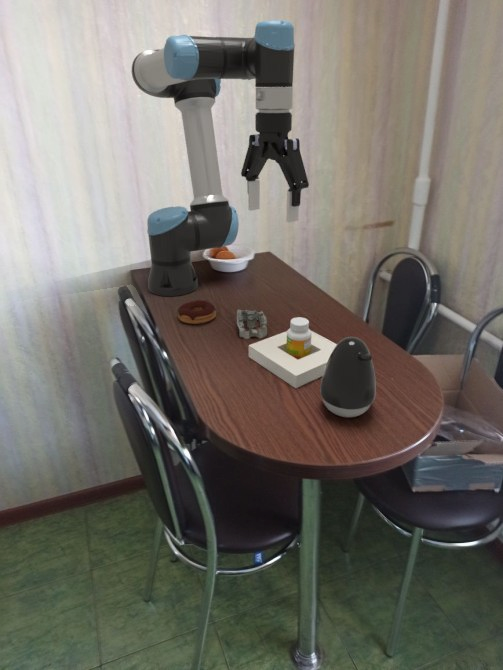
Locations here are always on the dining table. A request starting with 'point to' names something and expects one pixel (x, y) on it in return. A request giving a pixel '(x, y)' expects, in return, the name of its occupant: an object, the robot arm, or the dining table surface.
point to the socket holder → (292, 358)
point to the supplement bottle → (298, 338)
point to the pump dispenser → (349, 379)
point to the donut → (196, 312)
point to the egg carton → (251, 323)
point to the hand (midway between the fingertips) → (272, 215)
